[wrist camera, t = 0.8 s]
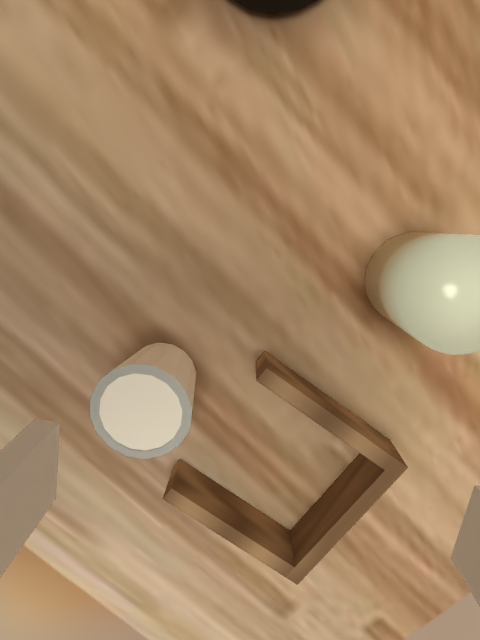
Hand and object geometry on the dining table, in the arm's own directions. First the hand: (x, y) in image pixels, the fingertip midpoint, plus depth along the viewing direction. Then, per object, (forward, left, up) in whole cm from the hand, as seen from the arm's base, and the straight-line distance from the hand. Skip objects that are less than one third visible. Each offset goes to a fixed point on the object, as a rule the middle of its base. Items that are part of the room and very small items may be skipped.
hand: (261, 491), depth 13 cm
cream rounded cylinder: (+7, +10, -20) cm, 24 cm away
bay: (+8, -8, -20) cm, 23 cm away
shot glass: (-4, -8, -21) cm, 22 cm away
